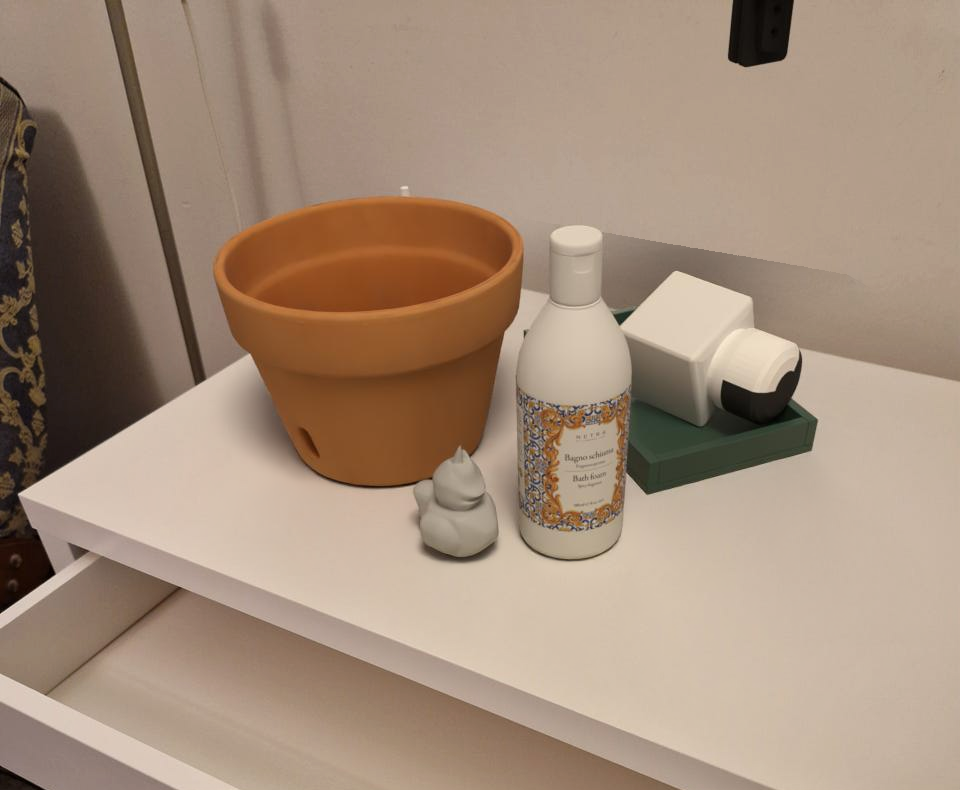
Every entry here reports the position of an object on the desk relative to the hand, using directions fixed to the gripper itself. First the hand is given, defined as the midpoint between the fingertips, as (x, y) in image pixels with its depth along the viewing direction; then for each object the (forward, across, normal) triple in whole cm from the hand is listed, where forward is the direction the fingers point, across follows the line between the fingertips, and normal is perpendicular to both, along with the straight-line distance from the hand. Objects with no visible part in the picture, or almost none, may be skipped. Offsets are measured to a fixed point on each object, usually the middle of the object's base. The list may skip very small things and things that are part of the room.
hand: (756, 60), depth 61 cm
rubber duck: (+24, -7, +24) cm, 35 cm away
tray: (+24, +4, +3) cm, 25 cm away
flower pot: (+24, +8, +24) cm, 35 cm away
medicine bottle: (+19, +5, +4) cm, 20 cm away
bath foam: (+24, -9, +17) cm, 31 cm away
